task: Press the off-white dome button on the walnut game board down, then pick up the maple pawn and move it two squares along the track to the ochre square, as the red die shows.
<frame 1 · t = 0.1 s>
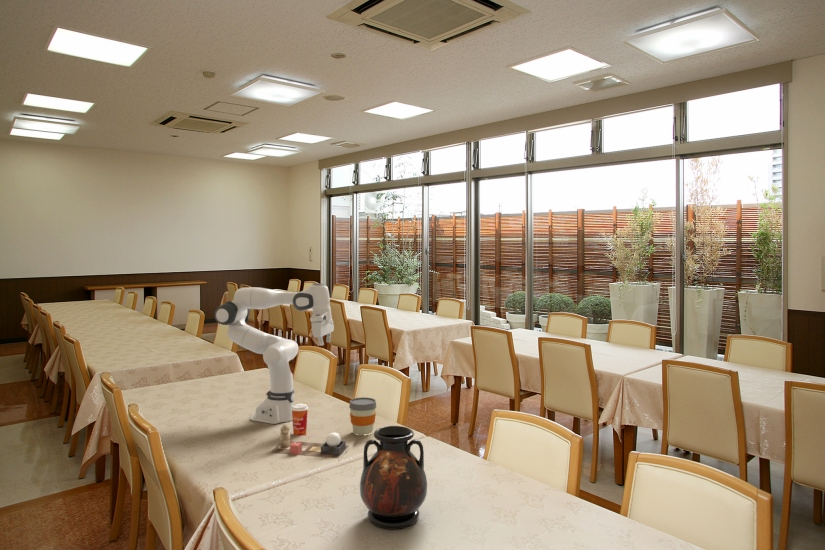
hand: (325, 343, 264), 39 cm above the table, tool pointing down, fingers open, 8 cm apart
reusable coffee cup: (362, 433, 250), on the table
paper cup: (300, 436, 245), on the table
game board: (309, 452, 225), on the table
die: (296, 452, 221), resting on game board
pawn: (285, 446, 227), point 2 cm above the table, touching game board
dome button: (333, 439, 223), point 6 cm above the table, slide at 0.0 cm
amphora vase: (393, 518, 171), on the table
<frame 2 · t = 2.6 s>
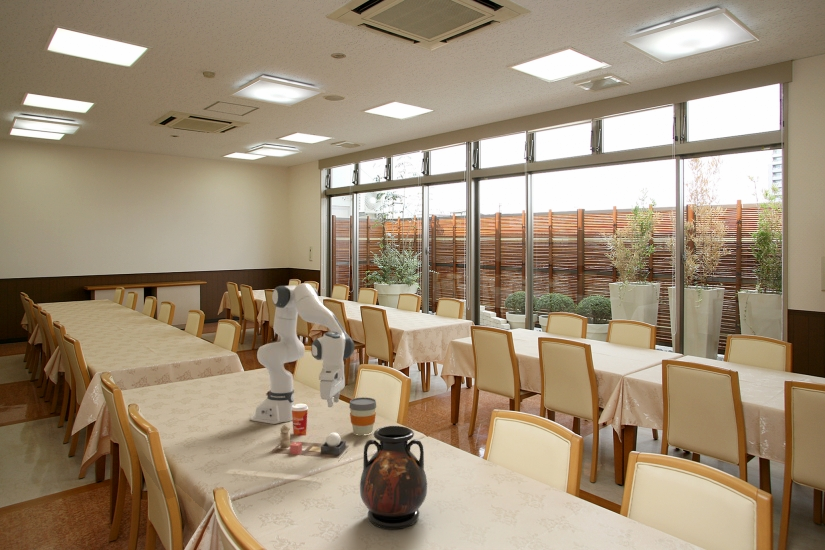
hand: (333, 404, 222), 21 cm above the table, tool pointing down, fingers open, 5 cm apart
nothing on the table moved.
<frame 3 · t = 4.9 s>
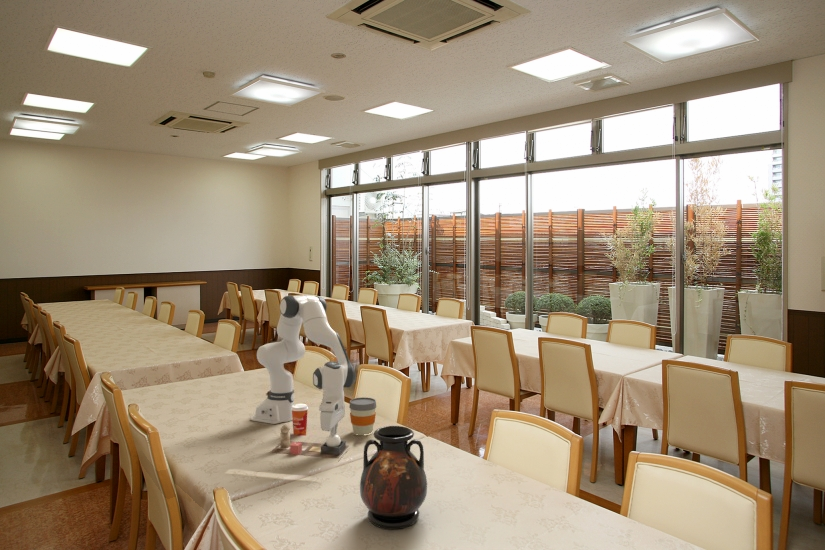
hand: (333, 434, 223), 9 cm above the table, tool pointing down, fingers closed, pressing on dome button
dome button: (333, 441, 223), point 6 cm above the table, slide at 0.7 cm, touching gripper
everything else where it was.
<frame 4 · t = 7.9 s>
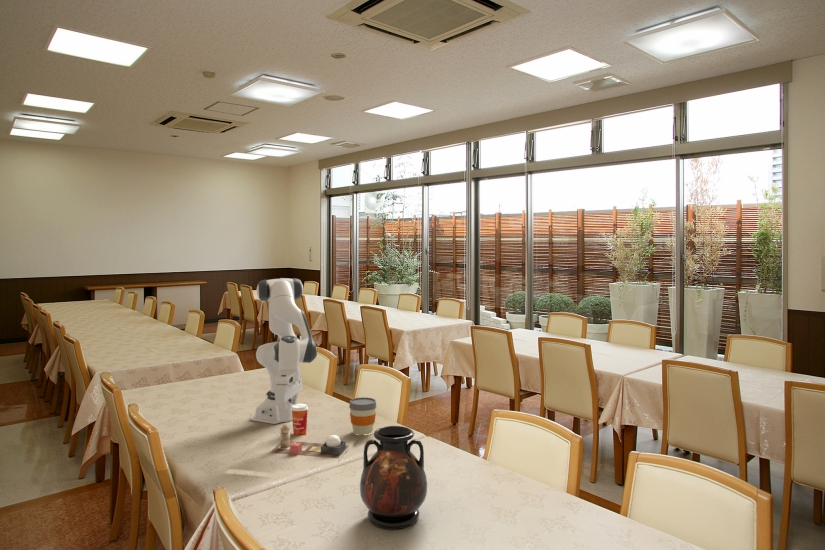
hand: (289, 407, 226), 19 cm above the table, tool pointing down, fingers open, 8 cm apart
dome button: (333, 442, 223), point 5 cm above the table, slide at 1.0 cm
everything else where it was.
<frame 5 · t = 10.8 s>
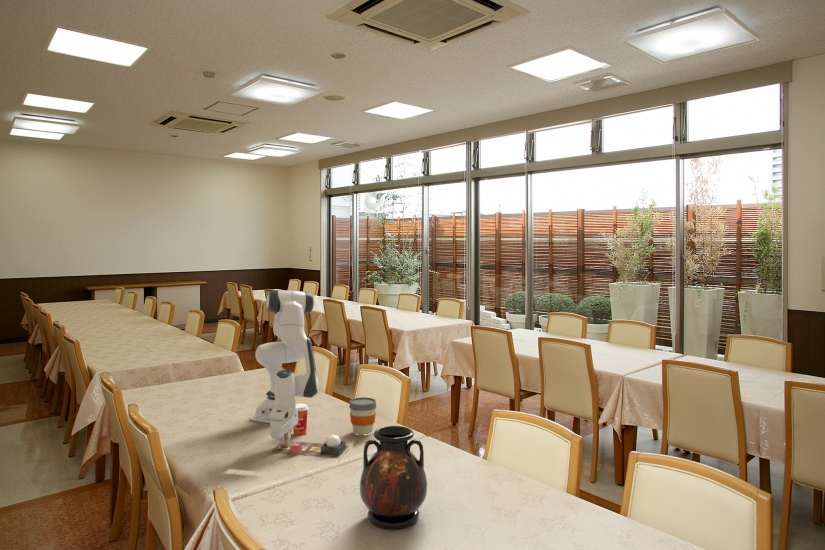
hand: (285, 441, 227), 4 cm above the table, tool pointing down, fingers closed on pawn, 4 cm apart
pawn: (285, 446, 227), point 2 cm above the table, touching game board, gripper
everything else where it was.
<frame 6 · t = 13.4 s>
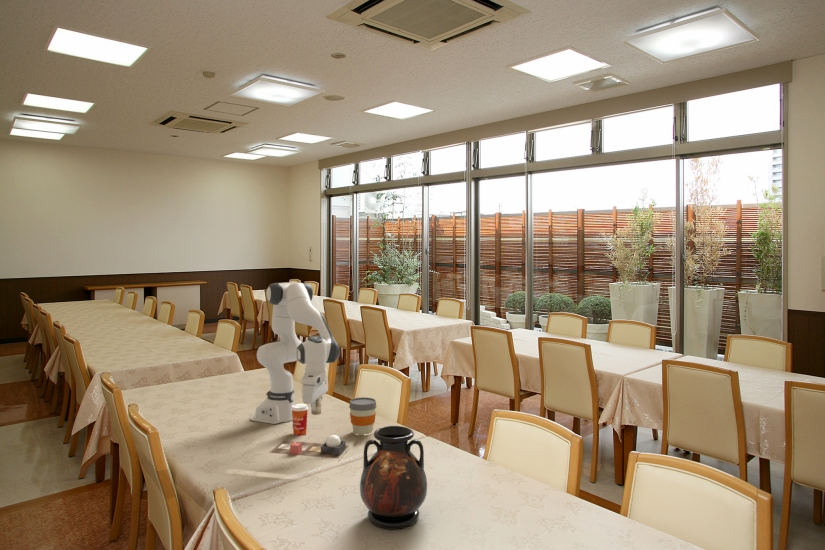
hand: (316, 408, 224), 19 cm above the table, tool pointing down, fingers closed on pawn, 4 cm apart
pawn: (316, 413, 224), point 17 cm above the table, touching gripper
everything else where it was.
when the fingers open (6 cm above the table, at t = 16.2 s): pawn drops 2 cm, resting on game board.
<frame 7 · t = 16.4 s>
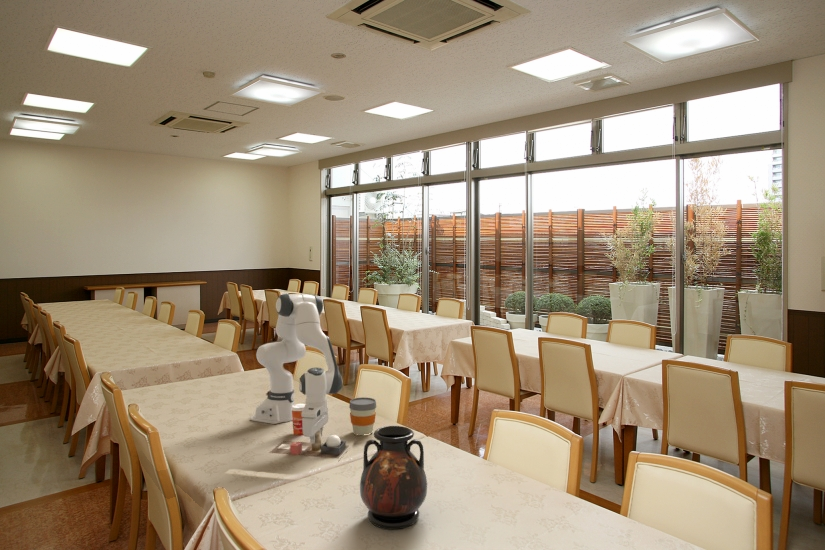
hand: (316, 440, 224), 6 cm above the table, tool pointing down, fingers open, 6 cm apart
pawn: (316, 448, 225), point 2 cm above the table, touching game board
everything else where it was.
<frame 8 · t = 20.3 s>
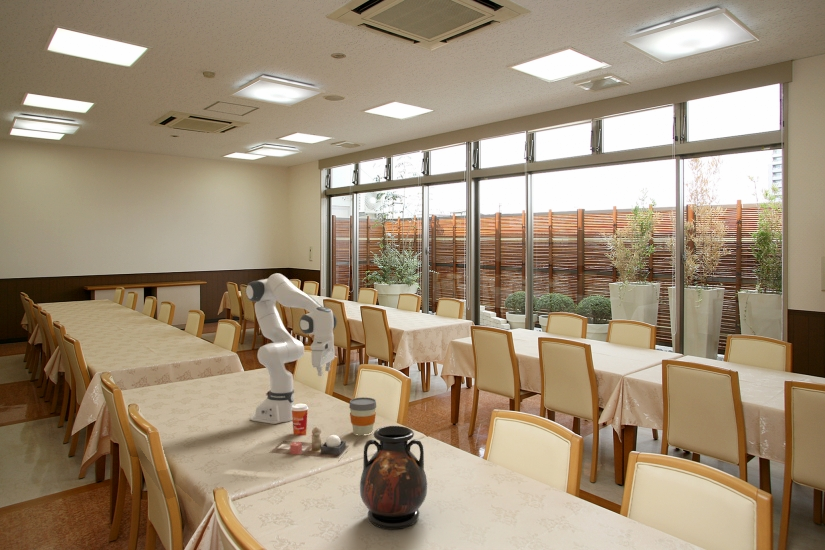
hand: (324, 373, 244), 29 cm above the table, tool pointing down, fingers open, 8 cm apart
nothing on the table moved.
at the end: dome button slide at 1.0 cm; pawn 0.1 cm from the target spot, point 1.7 cm above the table; pawn tilted 1° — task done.
